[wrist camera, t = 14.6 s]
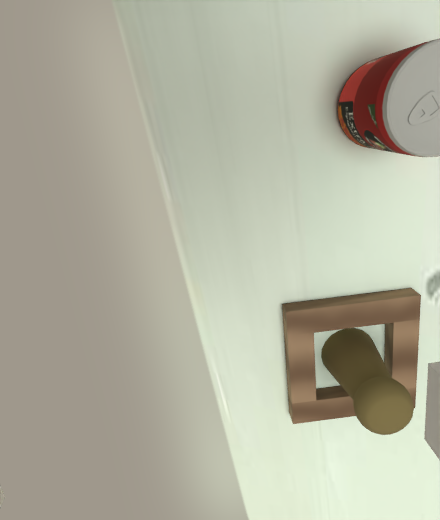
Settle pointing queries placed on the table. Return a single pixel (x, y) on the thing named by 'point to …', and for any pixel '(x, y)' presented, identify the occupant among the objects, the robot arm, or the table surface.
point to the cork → (367, 381)
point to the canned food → (395, 102)
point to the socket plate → (341, 317)
